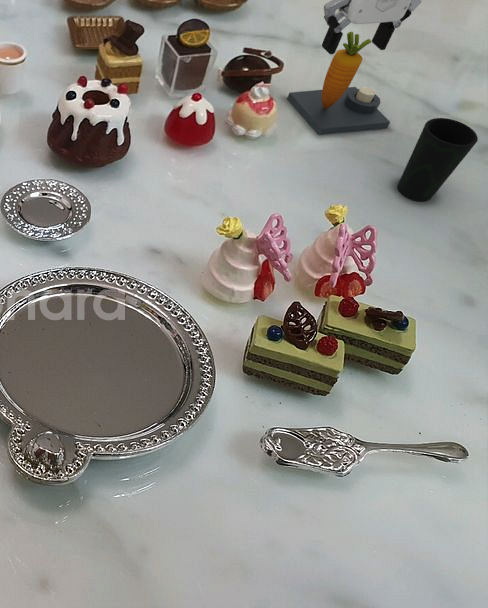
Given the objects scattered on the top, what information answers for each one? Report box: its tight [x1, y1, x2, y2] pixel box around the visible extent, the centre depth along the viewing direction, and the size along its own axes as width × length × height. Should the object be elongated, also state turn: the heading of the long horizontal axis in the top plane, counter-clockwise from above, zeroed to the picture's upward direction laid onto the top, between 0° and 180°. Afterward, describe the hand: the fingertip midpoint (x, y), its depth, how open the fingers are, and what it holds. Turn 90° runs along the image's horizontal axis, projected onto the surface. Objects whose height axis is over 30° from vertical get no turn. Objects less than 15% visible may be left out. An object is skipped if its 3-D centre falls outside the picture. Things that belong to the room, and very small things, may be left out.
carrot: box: [321, 31, 372, 109], centre depth 135 cm, size 5×5×15 cm
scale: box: [286, 86, 391, 136], centre depth 141 cm, size 14×12×3 cm
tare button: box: [356, 86, 376, 103], centre depth 140 cm, size 3×3×2 cm
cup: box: [396, 117, 479, 203], centre depth 123 cm, size 8×8×12 cm
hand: (352, 48), depth 132 cm, fingers open, 9 cm apart
